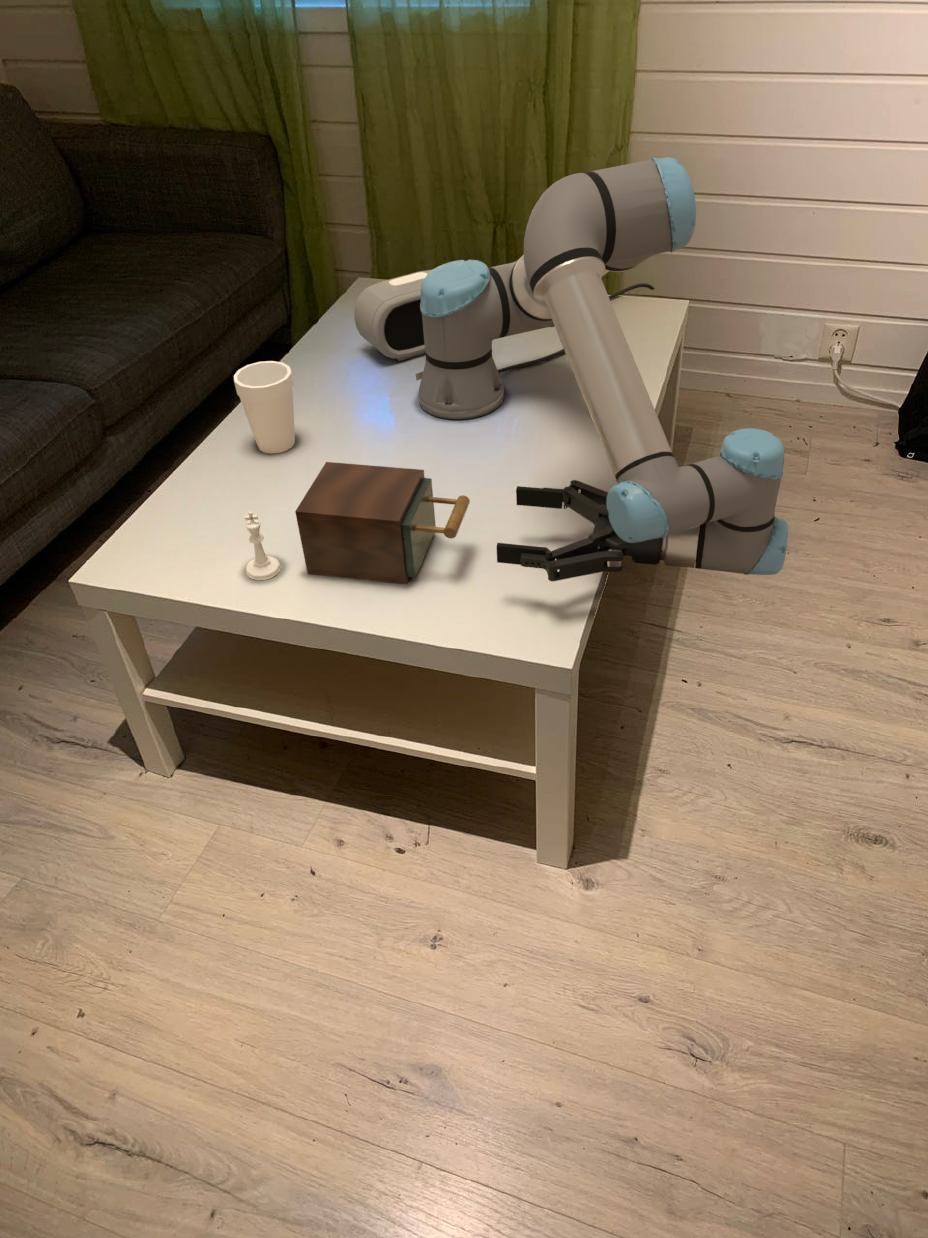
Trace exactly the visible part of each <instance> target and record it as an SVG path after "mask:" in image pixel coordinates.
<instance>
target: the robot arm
mask: <svg viewBox="0 0 928 1238" xmlns="http://www.w3.org/2000/svg"><path fill="white" fill-rule="evenodd" d="M696 219H697V203H696V195H695V190H694V186H693V183H692V179H691V177H690V175H689V173H688V170H687V169H686V168H685V166H683V164H682V163H681V162H680V161H679V160H678V159H676V158H674V157H671V156H670V157H668V156H667V157H660V158H658V157H651V159H645V160H643V161H637V162H632V163H627V164H622V165H616V166H612V167H606V168H601V169H596V170H591V171H586V172H578V173H573V174H569V175H567V176H564V177H562V178H560V179H558V180H556V181H555V182H554V183H552V184H551V185H550V186H549V187H548V188H547V189H545V191H543V193H542V194H541V196H540V197H539V199H538V200H537V202H536V203H535V205H534V207H533V208H532V210H531V212H530V215H529V218H528V220H527V221H528V222H527V224H526V228H525V233H524V237H523V238H524V239H523V255H522V256H520V257H519V258H518V259H517V260H515V261H513V262H510V263H509V262H508V263H506V264H500V265H496V266H490V267H488V266H487V264H486V263H484V262H482V261H480V260H476V259H468V260H464V259H460V260H453V261H449V262H447V263H443V264H441V265H439V266H437V267H435V268H433V269H431V270H432V271H431V272H429V273H428V274H427V276H426V277H425V278H424V280H423V281H422V284H421V302H420V310H421V312H422V321H423V333H424V344H425V353H424V354H425V362H424V367H423V371H420V372H417V373H415V380H416V381H419V380H420V383H419V387H418V402H419V406H420V407H421V408H422V410H423V411H425V412H426V413H427V414H428V415H432V416H434V417H438V418H440V419H446V420H468V419H473V418H479V417H482V416H485V415H487V414H489V413H492V412H493V411H495V410H497V409H498V408H499V407H500V406H501V405H502V403H503V401H504V398H505V389H504V383H503V381H502V378H501V376H500V374H502V373H505V372H509V371H512V370H515V369H520V368H524V367H529V366H532V365H537V364H539V363H543V362H546V361H549V360H551V359H554V358H556V357H558V356H560V355H563V354H565V355H566V358H567V360H568V363H569V366H570V368H571V371H572V373H573V375H574V377H575V380H576V383H577V385H578V388H579V390H580V393H581V395H582V398H583V400H584V403H585V405H586V407H587V410H588V413H589V415H590V418H591V420H592V422H593V425H594V428H595V430H596V432H597V435H598V437H599V440H600V443H601V445H602V447H603V450H604V452H605V455H606V457H607V459H608V462H609V464H610V467H611V469H612V472H613V474H614V477H615V480H616V482H617V484H615V485H613V486H612V487H610V489H609V491H606V490H603V489H601V488H599V487H595V486H593V485H590V484H587V483H585V482H582V481H580V480H578V479H572V480H571V481H570V483H569V485H568V486H565V487H564V488H556V487H555V488H553V487H532V486H519V485H518V486H516V489H515V493H516V497H515V499H516V506H523V507H536V508H545V509H547V508H548V509H557V510H562V509H564V510H566V509H568V508H569V509H570V510H571V511H573V512H575V513H577V514H578V515H579V516H581V517H583V518H584V519H586V520H587V521H589V522H590V523H592V524H593V526H594V528H593V530H592V533H590V534H589V535H588V536H587V538H586V537H585V538H583V539H581V540H578V541H575V542H573V543H570V544H567V545H564V546H561V547H559V548H556V549H553V550H550V549H549V547H546V546H537V545H536V546H535V545H525V544H516V543H515V544H514V543H504V542H497V543H496V563H499V564H508V565H520V567H524V568H532V569H540V570H541V569H542V570H545V572H546V573H547V580H548V581H549V582H558V581H563V580H567V579H573V578H578V577H582V576H588V575H593V574H598V573H603V572H606V573H607V572H609V573H620V572H622V571H623V564H624V561H623V560H624V557H631V560H632V562H633V563H635V564H643V565H652V566H653V565H654V566H657V565H659V564H660V563H661V561H663V563H664V565H665V566H666V567H678V568H691V569H698V570H707V571H708V570H709V571H716V572H726V573H733V574H742V575H745V576H750V575H758V576H774V575H777V574H779V573H780V572H781V571H782V569H783V567H784V564H785V561H786V555H787V554H786V553H787V547H788V537H789V525H788V522H787V521H786V520H785V519H784V518H779V517H777V516H775V511H776V506H777V501H778V495H779V491H780V486H781V482H782V478H783V477H784V466H785V446H784V444H783V441H782V440H781V439H780V438H779V437H777V436H776V435H775V434H774V433H772V432H770V431H767V430H764V429H761V428H760V429H759V428H747V427H746V428H740V429H739V428H738V429H736V430H733V431H731V432H730V433H729V434H728V435H726V436H725V437H724V438H723V441H722V445H721V447H720V450H719V455H718V456H715V457H711V458H708V459H704V460H700V461H696V462H693V463H689V464H685V465H683V466H679V464H678V462H677V459H676V457H675V456H674V453H673V451H672V449H671V446H670V443H669V441H668V439H667V436H666V433H665V432H664V429H663V426H662V424H661V422H660V419H659V417H658V414H657V412H656V410H655V407H654V405H653V402H652V399H651V396H650V395H649V392H648V390H647V387H646V385H645V383H644V380H643V378H642V375H641V373H640V370H639V367H638V365H637V362H636V360H635V358H634V356H633V353H632V351H631V348H630V346H629V343H628V341H627V339H626V336H625V333H624V332H623V329H622V326H621V324H620V321H619V319H618V317H617V314H616V312H615V309H614V307H613V304H612V302H611V299H614V298H616V297H618V296H620V295H622V294H625V293H627V292H629V291H632V290H634V289H638V288H647V289H649V290H651V291H654V290H655V287H654V286H653V285H651V284H650V283H645V282H643V283H636V284H633V285H630V286H627V287H626V288H623V289H621V290H618V291H616V292H615V293H612V294H609V295H608V292H607V290H606V286H605V284H604V281H603V280H602V278H603V277H604V275H606V274H607V273H609V272H611V273H612V272H613V273H621V272H626V271H629V270H632V269H633V268H635V267H637V266H638V265H640V264H642V263H644V262H645V261H646V260H648V259H649V258H651V257H653V256H656V255H659V254H663V253H668V252H669V253H674V252H675V251H676V250H680V249H683V248H685V247H686V246H688V244H689V243H690V241H692V238H693V237H694V232H695V229H696ZM547 328H555V331H556V333H557V335H558V338H559V340H560V343H561V346H562V349H560V350H557V351H556V352H554V353H551V354H548V355H546V356H543V357H540V358H536V359H533V360H529V361H525V362H522V363H521V362H520V363H517V364H512V365H510V366H505V367H502V368H500V369H499V368H497V365H496V363H495V359H494V358H493V346H492V345H493V341H494V340H498V339H502V338H505V337H510V336H515V335H519V334H523V333H527V332H528V333H529V332H532V331H537V330H542V329H547Z"/></svg>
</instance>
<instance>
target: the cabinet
mask: <svg viewBox="0 0 928 1238" xmlns="http://www.w3.org/2000/svg"><path fill="white" fill-rule="evenodd" d="M423 478H426V477H425V469H420V468H419V469H417V468H408V467H407V468H405V467H395V466H394V467H393V466H383V465H382V466H381V465H369V464H357V463H346V462H333V461H326V462H325V463H324V465H323V466H322V468H321V470H320V471H319V473H318V474H317V475H316V478H315V479H314V480H313V482H312V484H311V485H310V487H309V488H308V490H307V491H306V493H305V495H304V497H303V498H302V500H301V502H299V504H298V506H297V508H296V510H295V511H294V513H295V516H296V523H297V528H298V532H299V533H298V534H299V538H300V542H301V543H300V544H301V548H302V551H303V552H302V554H303V558H304V563H305V567H306V573H307V574H309V575H319V576H325V577H326V576H329V577H337V578H346V579H355V580H363V581H373V582H374V581H375V582H381V583H391V584H393V583H394V584H401V585H407V583H408V581H409V579H410V578H411V577H410V576H407V570H406V561H405V553H404V544H403V536H402V527H401V524H402V521H403V518H404V516H405V514H406V512H407V510H408V508H409V506H410V504H411V502H412V500H413V498H414V497H415V495H416V493H417V491H418V488H419V486H420V484H421V482H422V480H423Z"/></svg>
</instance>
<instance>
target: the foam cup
mask: <svg viewBox="0 0 928 1238" xmlns="http://www.w3.org/2000/svg"><path fill="white" fill-rule="evenodd" d="M233 383H234V387H235V391H236V395H237V396H238V397H239V400H240V402H241V405H242V408H243V410H244V414H245V416H246V419H247V422H248V425H249V427H250V429H251V432H252V435H253V437H254V440H255V443H256V445H257V448H258V450H259V451H261V452H262V453H266V454H280V453H284V452H286V451H289V450H290V449H291V448H293V446H294V445H295V444H296V433H295V432H296V431H295V430H296V429H295V410H294V408H295V407H294V386H295V385H294V378H293V374H292V369H291V366H289V365H288V364H286V363H285V362H280V361H275V360H266V361H256V362H254V363H250V364H246V365H244V366H242V367H241V368H238V370H236V372H235V374H234V375H233Z"/></svg>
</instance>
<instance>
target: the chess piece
mask: <svg viewBox="0 0 928 1238" xmlns="http://www.w3.org/2000/svg"><path fill="white" fill-rule="evenodd" d="M258 519H259V516H258V514H253V511H248V515H245V516H244V520H245V521H247V523H246V524H245V528H246V529H247V531H248V532H249V534H250V535H249V536H248V541H249V543H251V544H253V547H254V548H253V549H254V558H253V559H251V560H250V561H249V562H248V563H247V565H246V567H245V570H246V575H247V577H248V578H249V579H251V580H255V581H266V580H269V579H271V578H274V577H276V576H277V575H278V574H279V573H280V571H281V564H280V561H279V559H277V558H276V557H275V556H271V555H266V552H265V549H264V546H263V544H262V542H263V541H264V539H265V536H264V535H263V534H262V533H261V531H260V530H261V521H259V520H258Z"/></svg>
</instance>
